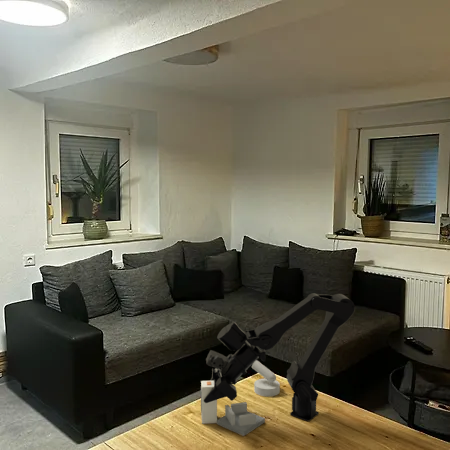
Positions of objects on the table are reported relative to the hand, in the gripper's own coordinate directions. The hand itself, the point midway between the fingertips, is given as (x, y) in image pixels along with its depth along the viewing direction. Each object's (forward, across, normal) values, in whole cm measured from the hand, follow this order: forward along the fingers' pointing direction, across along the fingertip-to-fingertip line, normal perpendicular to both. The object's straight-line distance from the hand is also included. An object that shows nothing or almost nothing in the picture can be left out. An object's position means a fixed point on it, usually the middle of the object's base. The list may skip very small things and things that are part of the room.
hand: (204, 398), depth 137 cm
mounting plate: (-3, +3, +12) cm, 13 cm away
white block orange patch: (+4, 0, +6) cm, 7 cm away
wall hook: (-10, -18, +20) cm, 29 cm away
